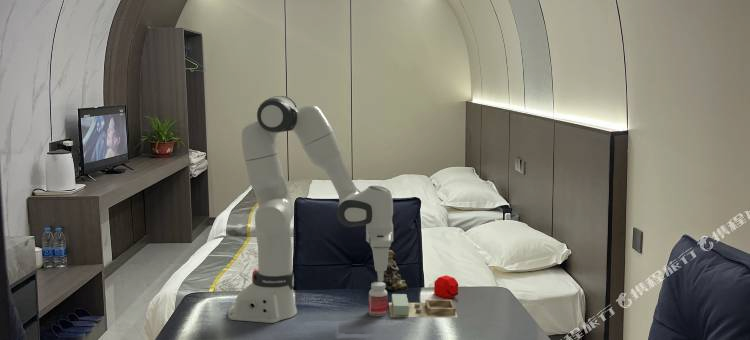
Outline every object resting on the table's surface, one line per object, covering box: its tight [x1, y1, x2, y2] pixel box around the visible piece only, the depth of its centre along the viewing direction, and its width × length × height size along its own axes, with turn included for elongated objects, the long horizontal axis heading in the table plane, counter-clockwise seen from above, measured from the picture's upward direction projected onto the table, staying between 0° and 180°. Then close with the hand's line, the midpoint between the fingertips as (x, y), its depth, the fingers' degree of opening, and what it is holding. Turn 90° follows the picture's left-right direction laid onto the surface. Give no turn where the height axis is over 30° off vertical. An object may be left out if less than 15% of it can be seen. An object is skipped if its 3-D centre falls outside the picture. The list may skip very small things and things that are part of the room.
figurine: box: [375, 249, 409, 292], centre depth 249 cm, size 12×11×15 cm
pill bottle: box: [368, 281, 388, 317], centre depth 222 cm, size 6×6×11 cm
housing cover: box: [391, 293, 409, 315], centre depth 225 cm, size 5×12×3 cm, turn 1°
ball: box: [433, 275, 459, 299], centre depth 242 cm, size 8×8×8 cm
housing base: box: [388, 299, 459, 318], centre depth 226 cm, size 22×14×3 cm, turn 91°
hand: (380, 276), depth 221 cm, fingers open, 8 cm apart
